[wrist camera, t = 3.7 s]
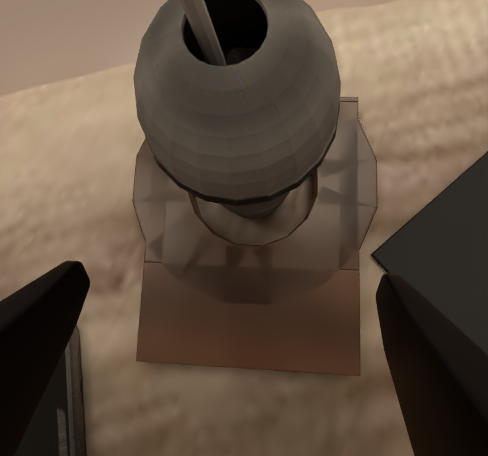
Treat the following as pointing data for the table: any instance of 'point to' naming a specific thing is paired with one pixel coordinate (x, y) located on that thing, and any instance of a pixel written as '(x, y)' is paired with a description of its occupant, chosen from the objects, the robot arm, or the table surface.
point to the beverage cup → (238, 98)
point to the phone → (59, 411)
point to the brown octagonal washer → (258, 272)
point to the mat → (449, 252)
